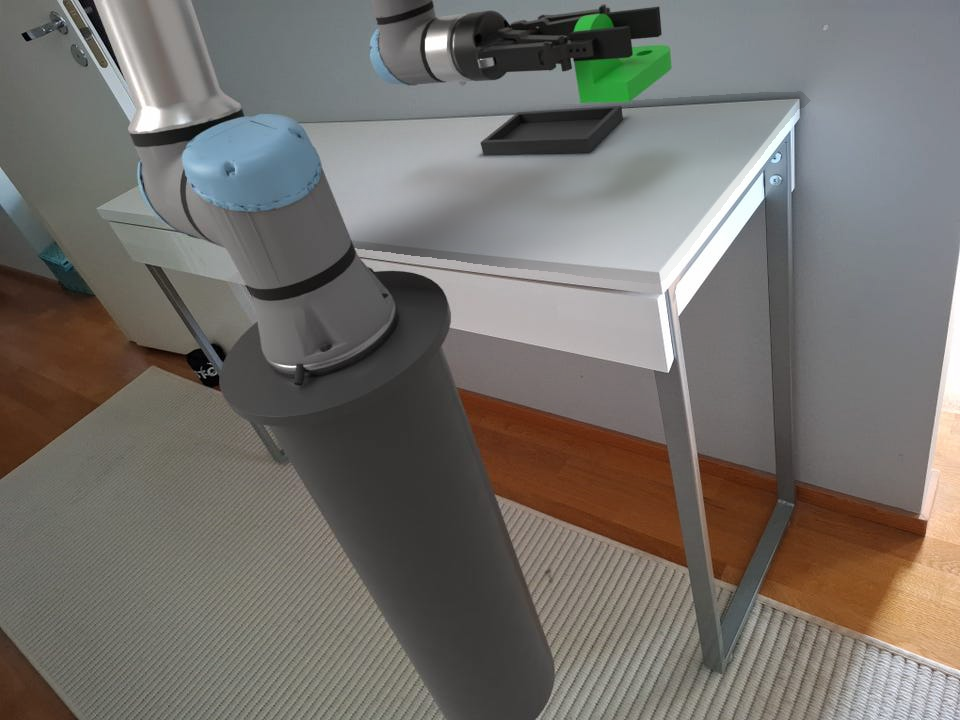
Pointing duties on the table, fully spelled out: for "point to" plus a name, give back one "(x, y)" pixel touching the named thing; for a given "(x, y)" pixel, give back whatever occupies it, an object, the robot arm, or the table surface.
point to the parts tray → (553, 131)
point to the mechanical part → (618, 69)
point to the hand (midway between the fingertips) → (644, 31)
